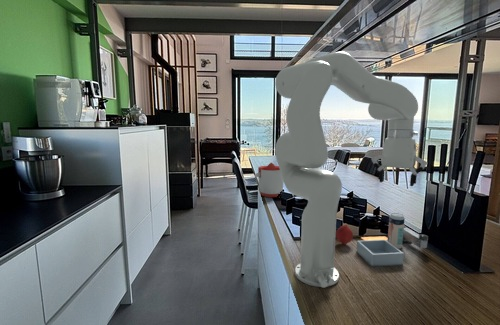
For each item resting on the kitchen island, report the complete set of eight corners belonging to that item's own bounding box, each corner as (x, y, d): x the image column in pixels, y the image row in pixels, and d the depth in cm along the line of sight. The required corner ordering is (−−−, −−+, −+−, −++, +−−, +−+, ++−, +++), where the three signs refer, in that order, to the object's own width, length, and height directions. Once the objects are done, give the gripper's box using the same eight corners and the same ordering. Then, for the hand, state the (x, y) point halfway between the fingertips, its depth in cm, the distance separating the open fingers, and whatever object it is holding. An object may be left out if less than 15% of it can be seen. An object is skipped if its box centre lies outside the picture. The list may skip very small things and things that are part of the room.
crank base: (416, 242, 106) (417, 238, 105) (368, 244, 104) (368, 240, 103) (403, 233, 114) (403, 229, 113) (358, 235, 112) (358, 231, 111)
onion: (341, 248, 100) (342, 227, 99) (332, 242, 106) (333, 221, 104) (355, 247, 102) (356, 225, 100) (346, 240, 107) (347, 220, 106)
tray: (402, 265, 89) (403, 253, 89) (372, 266, 88) (372, 254, 87) (384, 250, 99) (385, 239, 99) (356, 251, 98) (357, 240, 97)
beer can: (389, 242, 105) (391, 211, 104) (403, 246, 102) (406, 214, 101) (385, 247, 102) (388, 215, 100) (400, 250, 99) (403, 218, 97)
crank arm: (393, 231, 110) (394, 221, 110) (401, 231, 111) (402, 221, 110) (420, 249, 96) (421, 237, 95) (430, 248, 96) (431, 237, 95)
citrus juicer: (252, 192, 177) (253, 161, 174) (279, 191, 180) (280, 160, 177) (258, 199, 161) (258, 165, 158) (287, 198, 164) (288, 164, 161)
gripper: (431, 134, 94) (426, 185, 96) (376, 133, 104) (373, 178, 107) (428, 136, 88) (423, 189, 91) (370, 134, 99) (367, 182, 101)
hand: (396, 183), depth 99 cm, fingers open, 9 cm apart
